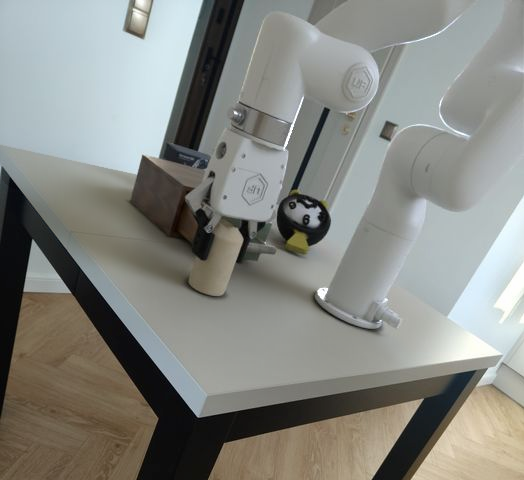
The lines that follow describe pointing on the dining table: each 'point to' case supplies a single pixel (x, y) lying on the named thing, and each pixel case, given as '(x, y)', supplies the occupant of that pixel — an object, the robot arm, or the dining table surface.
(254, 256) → the drawer
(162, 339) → the dining table surface
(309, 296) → the dining table surface
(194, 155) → the box
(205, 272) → the candle
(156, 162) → the cabinet
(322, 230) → the alarm clock
